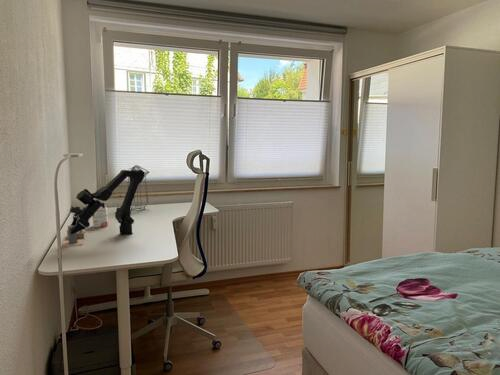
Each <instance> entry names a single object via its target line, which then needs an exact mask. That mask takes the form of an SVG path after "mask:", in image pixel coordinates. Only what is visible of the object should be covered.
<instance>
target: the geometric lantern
mask: <svg viewBox="0 0 500 375" xmlns="http://www.w3.org/2000/svg"><path fill="white" fill-rule="evenodd" d="M134 169H136V170H142V171H143V172H144V174H145V176H144V179H143V181H142V182H141V183H140V184H139V185H138V187H139V189H141V184H144V183H145V185H147V176H148V174H149V173H150V171H149V170H147V169H145V168H143V167H141V166H140V165H134V166H132V167H131V168H128V171H132V170H134ZM126 183H127V187H129V184H130V177H127V182H126ZM138 187H137V190H136V195H135V196H134V199H133V202H132V204H131V205H132V206H131V207H130V210H131V212H132V211H136V212H137V211H138V212H140V211H144V210H146V207H147V206H148V205H149V197H148V196H149V195H148V190H147V189H148V188H147V186H145V196H146V197H145V198H146V203H143V201H140V202H139V198H140V200H142V194H141V193H142V192H141V191H142V190H139V189H138ZM139 195H140V196H139ZM135 199H137V200H136V201H137V202H135Z"/></svg>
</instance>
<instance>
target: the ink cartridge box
mask: <svg viewBox="0 0 500 375" xmlns="http://www.w3.org/2000/svg"><path fill="white" fill-rule="evenodd" d="M104 206H105V208H103V207H100V208H99V209H98V210H97V211H96V212H95V214H94V216H92V227H93V228H101V227H102V228H103V227H104V228H105V227H108V226H109V222H108V220H109V219H108V218H109V217H108V207H107V206H106V203H105V205H104Z"/></svg>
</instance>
